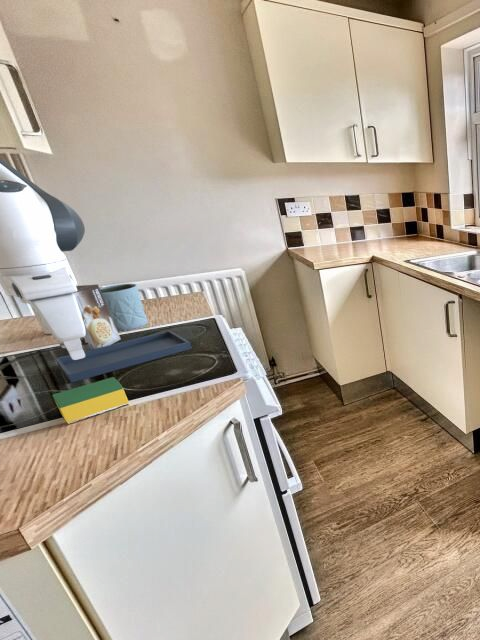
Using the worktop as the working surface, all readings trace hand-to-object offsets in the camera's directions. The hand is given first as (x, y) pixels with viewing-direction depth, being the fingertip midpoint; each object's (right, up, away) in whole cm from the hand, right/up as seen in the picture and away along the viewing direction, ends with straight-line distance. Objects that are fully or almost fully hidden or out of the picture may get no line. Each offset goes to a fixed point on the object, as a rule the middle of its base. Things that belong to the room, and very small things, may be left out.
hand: (73, 352), depth 78 cm
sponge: (0, -11, +4) cm, 12 cm away
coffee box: (-30, 0, +35) cm, 46 cm away
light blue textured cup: (-35, +7, +50) cm, 62 cm away
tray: (-16, -2, +28) cm, 32 cm away
